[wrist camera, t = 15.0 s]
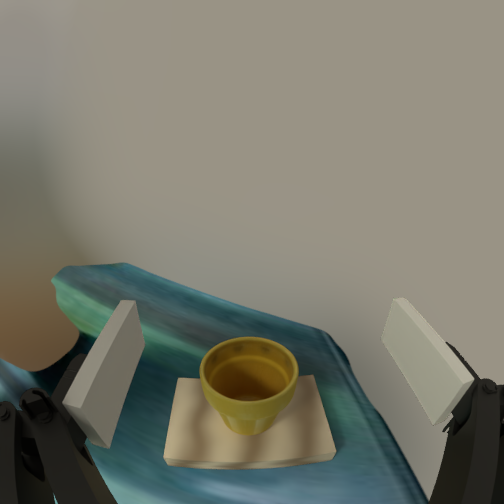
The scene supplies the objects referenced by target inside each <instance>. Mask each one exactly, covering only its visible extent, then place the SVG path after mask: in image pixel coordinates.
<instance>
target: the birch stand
mask: <svg viewBox="0 0 504 504" xmlns="http://www.w3.org/2000/svg"><path fill="white" fill-rule="evenodd" d="M335 453H336V448H335V445H334V441H333V438H332V435H331V431H330V428H329V425H328V421H327V418H326V415H325V411H324V408H323V405H322V402H321V398H320V395H319V392H318V389H317V385H316V382H315V379H314V376H313V375H305V376H298V380H297V385H296V389H295V392H294V395H293V398H292V400H291V401H290V403H289V404H288V405H287V406H286V407H285V408H284V409H283V410H282V411H280V412H279V413H278V415H277V417H276V418H275V420H274V422H273V423H272V425H271V426H270V427H269V428H268V429H267V430H266V431H264V432H262V433H260V434H257V435H250V436H248V435H241V434H238V433H235V432H233V431H232V430H230V429H229V428H228V427H227V426H226V425H225V423H224V421H223V419H222V418H221V416H220V414H219V412H218V411H217V410H215V409H214V408H213V407H212V406H211V405H210V404H209V402H208V401H207V399H206V397H205V395H204V392H203V389H202V384H201V379H195V378H178V381H177V386H176V391H175V396H174V401H173V406H172V412H171V417H170V422H169V428H168V434H167V439H166V445H165V451H164V457H163V458H164V459H165V461H166V463H167V464H168V465H169V466H178V467H189V468H203V469H263V468H277V467H287V466H296V465H304V464H311V463H317V462H323V461H328V460H332V459H333V457H334V455H335Z"/></svg>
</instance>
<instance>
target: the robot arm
mask: <svg viewBox="0 0 504 504" xmlns="http://www.w3.org/2000/svg"><path fill="white" fill-rule="evenodd" d="M381 340H382V342H383V344H384V345H385V347H386V348H387V350H388V351H389V353H390V355H391V356H392V358H393V359H394V361H395V363H396V364H397V366H398V367H399V369H400V371H401V372H402V374H403V375H404V377H405V379H406V380H407V382H408V384H409V385H410V387H411V389H412V390H413V392H414V394H415V395H416V397H417V399H418V401H419V402H420V404H421V406H422V408H423V409H424V411H425V413H426V415H427V416H428V418H429V420H430V422H431V424H432V425H433V426H434V425H436V424H438V423H441V422H443V421H445V420H446V418H447V417H448V416H449V414H450V413H452V414H453V416H454V417H453V418H452V419H451V420H450V422H449V423H448V424H447V425H446V426H445V428H444V429H443V431H442V432H445V431H446V429H447V428H448V427H449V431H448V432H447V433H448V437H447V442H446V447H445V451H444V455H443V459H442V463H441V467H440V470H439V474H438V477H437V480H436V484H435V486H434V489H433V492H432V495H431V498H430V501H429V503H428V504H504V385H496V383H495V382H493V381H492V380H490V379H480V378H479V377H478V375H477V374H476V373H475V372H474V370H473V369H472V368H471V367H470V366H469V364H468V363H467V362H466V361H464V358H463V357H462V356H461V355H460V353H459V352H458V351H457V350H456V349H455V347H453V346H452V345H450V344H449V343H447V342H444V341H443V340H442V338H441V337H440V336H439V335H438V334H437V333H436V332H435V330H434V329H433V328H432V327H431V326H430V325H429V324H428V322H427V321H426V320H425V319H424V318H423V317H422V316H421V315H420V314H419V312H417V310H416V309H415V308H414V307H413V306H412V305H411V304H410V303H409V302H408V301H407V300H406V299H405V298H394V299H393V302H392V306H391V309H390V312H389V315H388V318H387V322H386V325H385V328H384V330H383V333H382V336H381ZM144 346H145V342H144V338H143V334H142V329H141V325H140V321H139V316H138V311H137V307H136V302H135V301H129V300H121V301H120V303H119V305H118V306H117V308H116V309H115V311H114V312H113V314H112V316H111V317H110V319H109V320H108V322H107V324H106V325H105V327H104V328H103V330H102V332H101V333H100V335H99V337H98V338H97V340H96V342H95V343H94V345H93V347H92V349H91V350H90V352H89V354H88V355H86V354H81V353H80V354H79V355H78V356H76V357H75V358H74V359H73V360H72V361H71V362H70V364H69V366H68V367H67V371H65V373H64V374H63V378H61V380H60V381H59V383H58V385H57V387H56V388H55V390H54V392H53V394H52V396H51V398H50V397H49V395H48V394H47V392H46V391H45V390H43V389H41V388H31V389H29V390H27V391H25V392H24V393H23V394H22V396H21V398H20V401H19V406H20V407H21V409H22V410H23V411H20V410H17V409H16V408H15V407H14V405H13V404H12V403H10V402H7V401H3V402H0V504H55V500H54V495H55V498H56V500H57V502H58V504H118V503H117V502H116V500H115V498H114V497H113V495H112V494H111V492H110V490H109V489H108V487H107V485H106V483H105V482H104V480H103V478H102V476H101V474H100V473H99V471H98V469H97V467H96V465H95V463H94V461H93V459H92V457H91V455H90V453H89V451H88V448H87V447H86V445H85V444H84V443H85V441H86V438H88V439H89V440H90V442H91V443H92V444H94V445H97V446H101V447H105V448H110V444H111V441H112V438H113V434H114V431H115V428H116V425H117V422H118V419H119V416H120V413H121V410H122V407H123V404H124V401H125V398H126V395H127V392H128V389H129V386H130V383H131V381H132V378H133V375H134V372H135V370H136V367H137V364H138V362H139V359H140V356H141V354H142V351H143V349H144ZM53 493H54V495H53Z"/></svg>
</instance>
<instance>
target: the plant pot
mask: <svg viewBox="0 0 504 504" xmlns="http://www.w3.org/2000/svg"><path fill="white" fill-rule="evenodd" d="M298 374H299V369H298V364H297V361H296V359H295V357H294V355H293V354H292V353H291V352H290V351H289V350H288V349H287V348H285V347H284V346H283V345H281V344H279V343H277V342H274V341H272V340H269V339H265V338H260V337H239V338H233V339H230V340H226V341H224V342H221V343H219V344H218V345H216V346H214V347H213V348H212V349H210V350H209V351H208V352H207V353H206V355H205V356H204V358H203V359H202V362H201V365H200V379H201V384H202V389H203V392H204V395H205V397H206V399H207V401H208V402H209V404H210V405H211V406H212V407H213V408H214V409H215V410H217V411H218V412H219V414H220V416H221V418H222V419H223V421H224V423H225V425H226V426H227V427H228V428H229V429H230V430H232V431H233V432H235V433H238V434H241V435H248V436H250V435H257V434H260V433H262V432H264V431H266V430H267V429H268V428H269V427H270V426H271V425H272V423H273V422H274V420H275V418H276V417H277V415H278V413H279V412H280V411H282V410H283V409H284V408H285V407H286V406H287V405H288V404H289V403H290V401H291V400H292V398H293V395H294V392H295V389H296V385H297V380H298Z"/></svg>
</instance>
